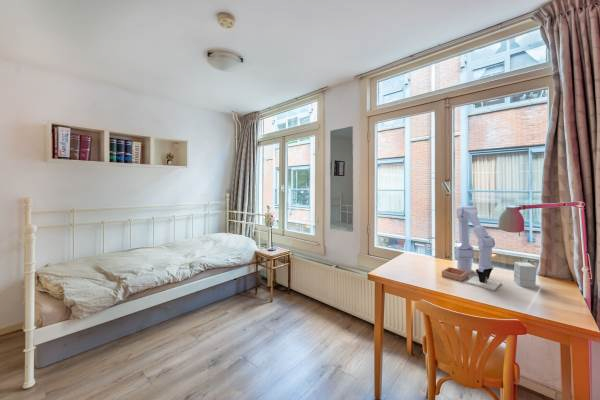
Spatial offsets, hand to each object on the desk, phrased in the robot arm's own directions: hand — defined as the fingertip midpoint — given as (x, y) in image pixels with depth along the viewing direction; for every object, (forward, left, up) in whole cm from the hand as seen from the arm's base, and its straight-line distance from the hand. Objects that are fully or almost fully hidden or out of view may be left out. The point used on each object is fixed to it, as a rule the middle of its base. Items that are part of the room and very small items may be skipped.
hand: (484, 280), depth 145 cm
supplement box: (-16, +15, -3) cm, 22 cm away
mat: (0, 0, -2) cm, 2 cm away
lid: (0, 0, -2) cm, 2 cm away
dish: (+1, -15, -2) cm, 15 cm away
